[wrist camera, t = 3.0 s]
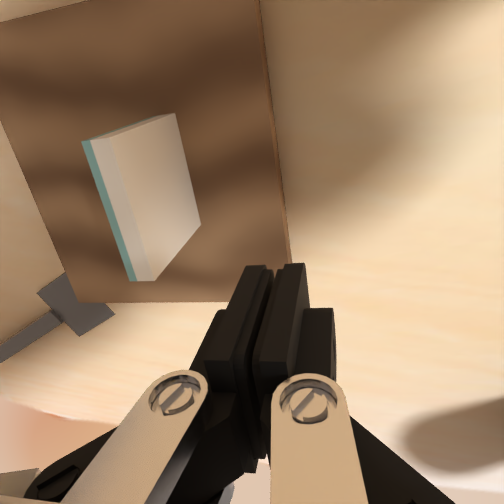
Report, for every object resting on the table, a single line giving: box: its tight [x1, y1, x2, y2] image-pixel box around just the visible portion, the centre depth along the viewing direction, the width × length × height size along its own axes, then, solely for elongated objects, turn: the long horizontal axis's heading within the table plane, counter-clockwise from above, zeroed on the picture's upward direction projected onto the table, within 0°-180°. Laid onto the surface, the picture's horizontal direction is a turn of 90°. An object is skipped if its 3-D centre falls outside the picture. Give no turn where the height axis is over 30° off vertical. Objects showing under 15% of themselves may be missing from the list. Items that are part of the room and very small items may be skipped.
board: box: [0, 0, 292, 303], centre depth 28 cm, size 22×20×2 cm
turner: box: [0, 272, 115, 363], centre depth 39 cm, size 6×20×1 cm, turn 126°
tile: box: [81, 113, 201, 281], centre depth 23 cm, size 8×2×8 cm, turn 9°
